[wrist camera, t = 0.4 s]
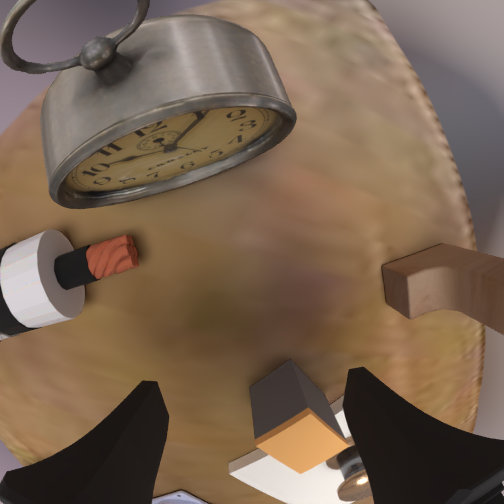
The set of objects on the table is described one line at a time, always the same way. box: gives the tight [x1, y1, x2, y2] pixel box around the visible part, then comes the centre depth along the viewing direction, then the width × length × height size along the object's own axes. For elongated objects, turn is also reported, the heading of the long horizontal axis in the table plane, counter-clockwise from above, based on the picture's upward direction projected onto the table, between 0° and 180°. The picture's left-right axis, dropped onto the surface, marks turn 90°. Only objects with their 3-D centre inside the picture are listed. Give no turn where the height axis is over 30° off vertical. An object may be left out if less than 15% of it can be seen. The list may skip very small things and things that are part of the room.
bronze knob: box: [326, 436, 372, 502], centre depth 19 cm, size 5×5×5 cm
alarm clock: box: [0, 0, 297, 209], centre depth 10 cm, size 11×5×16 cm, turn 107°
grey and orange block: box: [250, 359, 349, 474], centre depth 18 cm, size 4×5×7 cm
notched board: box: [229, 395, 354, 504], centre depth 23 cm, size 16×18×2 cm
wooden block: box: [382, 244, 504, 335], centre depth 13 cm, size 7×3×15 cm, turn 105°
